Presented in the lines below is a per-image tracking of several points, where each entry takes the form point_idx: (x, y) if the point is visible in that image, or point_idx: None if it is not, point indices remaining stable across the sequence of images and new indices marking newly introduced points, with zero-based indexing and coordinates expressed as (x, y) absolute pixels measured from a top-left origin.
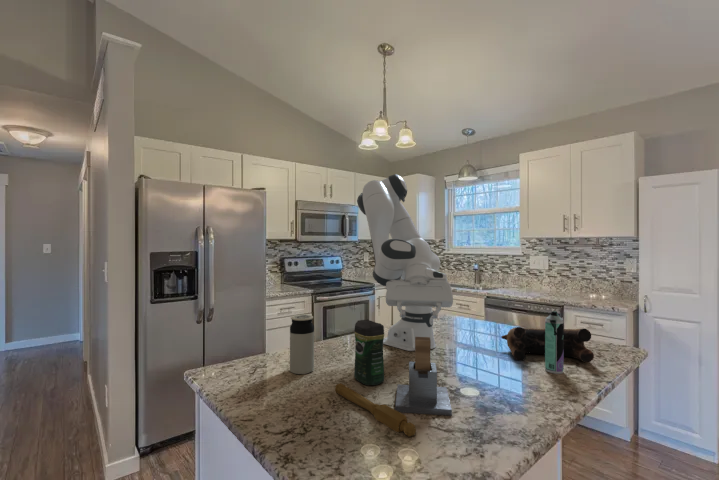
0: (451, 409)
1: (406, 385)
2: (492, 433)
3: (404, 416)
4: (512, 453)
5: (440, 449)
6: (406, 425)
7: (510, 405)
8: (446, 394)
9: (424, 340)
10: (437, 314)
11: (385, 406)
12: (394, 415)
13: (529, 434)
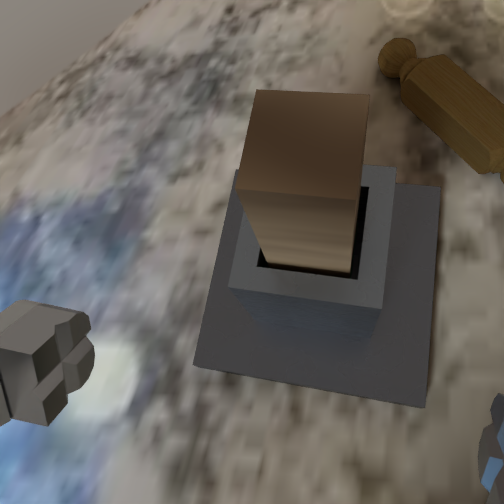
0: (236, 170)
1: (378, 390)
2: (161, 95)
3: (414, 74)
4: (157, 24)
5: (320, 20)
6: (409, 43)
7: (19, 255)
8: (215, 290)
9: (297, 101)
10: (17, 303)
11: (485, 135)
12: (449, 78)
13: (71, 98)
